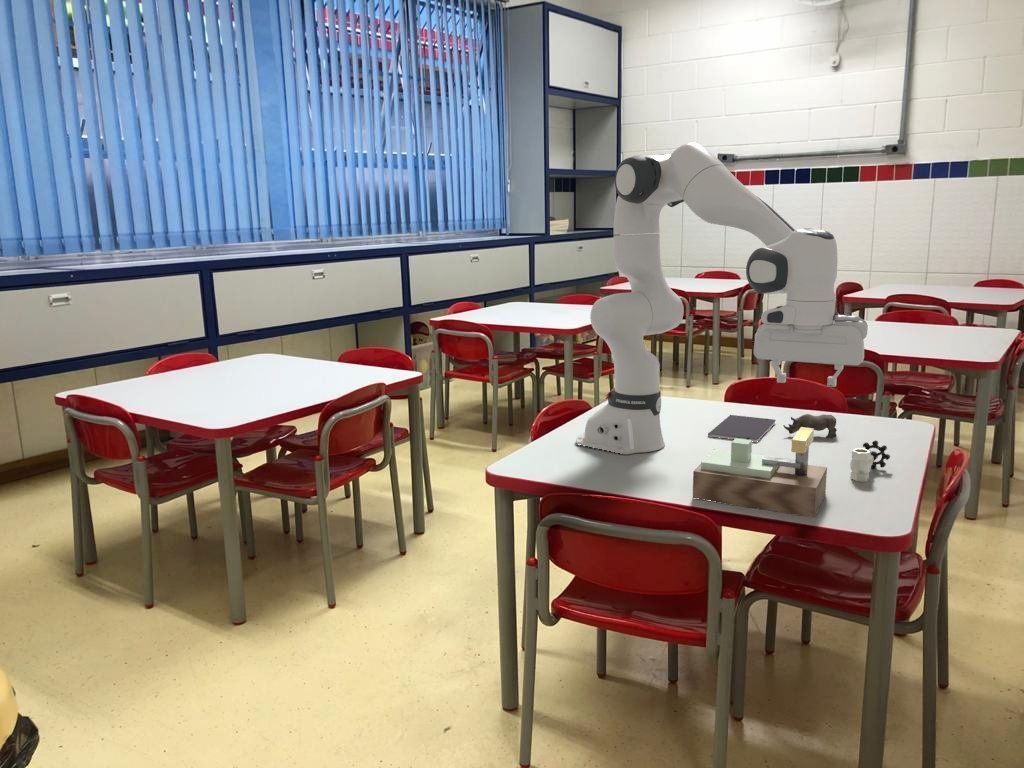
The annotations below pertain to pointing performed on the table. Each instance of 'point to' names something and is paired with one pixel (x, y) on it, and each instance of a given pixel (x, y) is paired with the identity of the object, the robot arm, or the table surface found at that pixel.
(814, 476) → the walnut box
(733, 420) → the notebook
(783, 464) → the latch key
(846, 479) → the table surface
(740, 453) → the cover
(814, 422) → the rhino figurine
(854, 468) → the valve
